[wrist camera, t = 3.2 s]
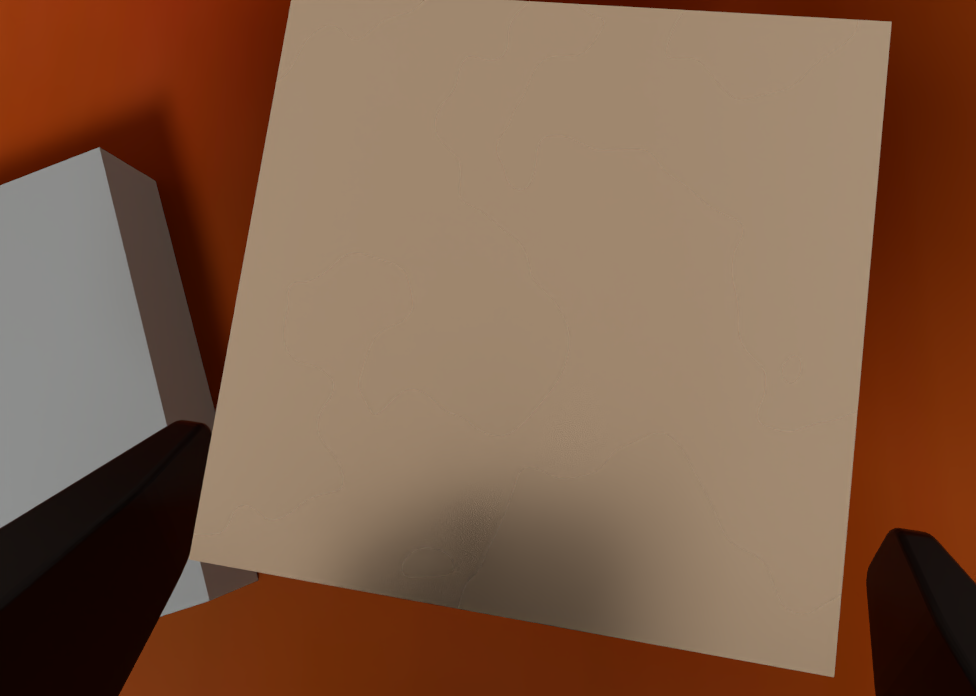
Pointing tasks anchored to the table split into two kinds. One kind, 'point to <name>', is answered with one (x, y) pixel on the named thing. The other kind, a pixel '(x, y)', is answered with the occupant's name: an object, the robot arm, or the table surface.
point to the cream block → (558, 318)
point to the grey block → (93, 338)
